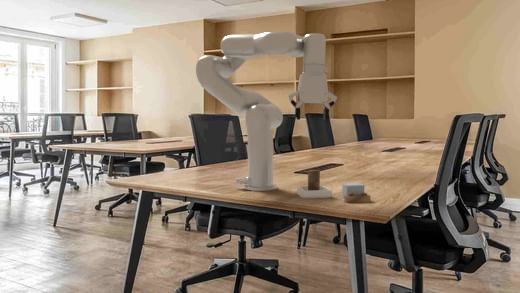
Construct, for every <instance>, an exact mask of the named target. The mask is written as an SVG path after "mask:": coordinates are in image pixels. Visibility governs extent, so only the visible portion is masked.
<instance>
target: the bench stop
mask: <svg viewBox="0 0 520 293" xmlns="http://www.w3.org/2000/svg"><path fill="white" fill-rule="evenodd" d="M343 201H344V202H345V203H371V195H370V194H367V192H364V193H361V195H354V194H353V193H348V195H344V199H343Z"/></svg>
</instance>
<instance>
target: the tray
mask: <svg viewBox="0 0 520 293" xmlns="http://www.w3.org/2000/svg"><path fill="white" fill-rule="evenodd" d="M296 194H297V195H298V196H299V197H300V198H302V199H304V200H305V199H306V200H307V199H330V198H331V199H332V198H333V190H332V189H330V188H328V187H326V186H325V185H320V190H310V191H308V185H297V186H296Z"/></svg>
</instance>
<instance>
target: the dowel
mask: <svg viewBox="0 0 520 293" xmlns="http://www.w3.org/2000/svg"><path fill="white" fill-rule="evenodd" d="M320 177H321V170H320V169H307V186H308V191H310V190H320V186H321V185H320V184H321V178H320Z"/></svg>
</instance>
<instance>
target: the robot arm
mask: <svg viewBox="0 0 520 293" xmlns="http://www.w3.org/2000/svg"><path fill="white" fill-rule="evenodd" d="M326 39H327V38H326V36H325V34H323V33H316V32H315V33H313V32H312V33H307V34H305V35H304V36H301V35H298V34H296V33H293V32H291V31H268V32H263V33H262V32H261V33H257V34H256V33H253V34H252V33H251V34H229V35H227V36H224V37H223V38H222V39H221V41H220V50H221V53H223V55H224V56H217V55H211V54H209V55H208V54H207V55H204V56H201V57H200V58H199V59H198V60H197V62H196V65H195V75H196V78H197V81H198V82H199V84H200V86H201V87H202V88H203V90H205V91H206V92H207V93H209V94H210V95H211V96H213V98H215V99H217V100H218V101H219V102H220V103H221V104H223V105H224V106H226V107H227V108H228V109H230V110H231V111H232V112H233V113H235V114H237V115H245V119H244V120H245V127H246V134H247V175H246V177H243V178H235V184H240V185H241V184H242V185H243V184H244V185H243V189H244V190H247V191H254V192H267V191H274V190H277V189H278V185H277V184H276V183H275V184H274V137H273V133H272V130H273V129H274V130H275V129H276V128H279V127H280V126H281V125H282V123H283V120H284V116H283V112H282V110H281V109H280V108H279V107H278V106H277V105H276V104H275V103H274V102H272V101H271V100H269V99H268V98H266V97H265V96H263V95H262V94H260V93H259V92H257V91H254V90H250V89H243V88H240V87H239V86H237V85H236V84H234V83H233V82H232V81H231V80H228V79H229V78H230V77H232V76H233V75H234V74H235V73H236V72H237V71H238V70H239V69H240V68H242V66H243V65H244V64H245V63H246V62H247V61H248V60H249V58H250V59H251V58H252V59H253V58H255V59H258V58H262V57H263V56H264V55H287V56H289V57H293V58H302V57H303V58H302V73H301V74H299V79H298V85H297V90H296V91H294V92H292V93H290V94H288V95H287V98H288V100H289V103H290V104H291V105H292V106H293V107H294V118H296V120H298V121H299V120H301V105H303V104H321V105H323V107H324V108H323V118H322V119H323V120H324V121H328V119H329V118H330V109H331V108H332V107H333V106H334V105H335V103H336V101H337V100H338V96H336V95H335V94H334V93H332V92H330V91H329V90H328V89H329V88H328V78H327V74H326V73H327V72H329V71H330V70H329V67H326V44H327V43H326V42H327V40H326ZM294 97H297V98H296V99H297V102H296V101H295V100H294ZM328 98H331V101H330V102H328V100H329V99H328Z"/></svg>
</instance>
